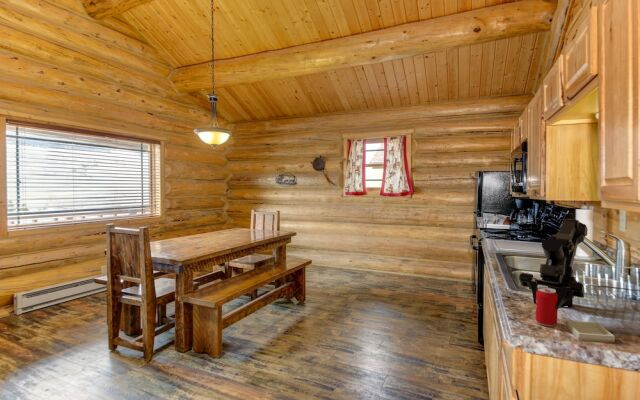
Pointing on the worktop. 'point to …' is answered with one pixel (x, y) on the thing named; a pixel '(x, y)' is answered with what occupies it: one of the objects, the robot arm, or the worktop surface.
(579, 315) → the worktop surface
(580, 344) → the worktop surface
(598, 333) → the tray
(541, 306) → the beverage can
